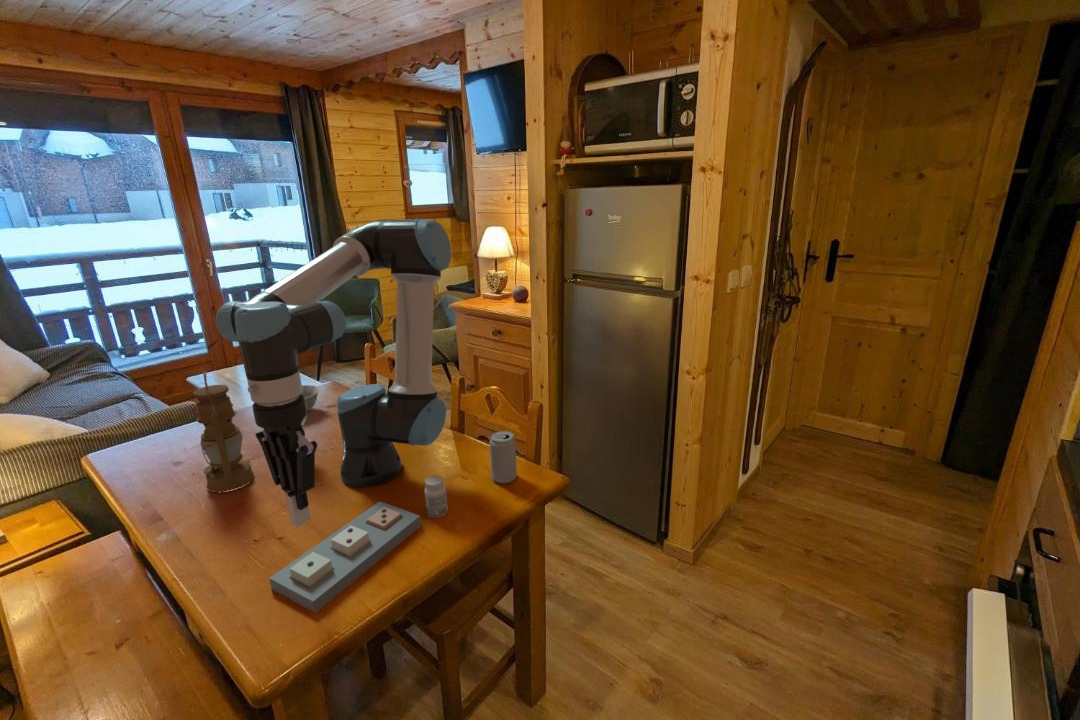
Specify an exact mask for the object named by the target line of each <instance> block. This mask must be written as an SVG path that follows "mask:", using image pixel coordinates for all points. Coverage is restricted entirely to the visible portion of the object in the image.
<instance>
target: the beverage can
mask: <svg viewBox="0 0 1080 720" xmlns="http://www.w3.org/2000/svg"><path fill="white" fill-rule="evenodd" d="M514 436H515V435H514V433H513V432H510V431H505V430H504V431H496V432H494V433H492V434H491V436H490V439H489V451H490V452H489V453H490V454H489V455H490V470H491V479H492V480H493V481H494V482H496V483H498V484H501V485H502V484H503V485H504V484H510V483H512V482H514V480H515V479H516V478H517V476H518V469H517V447H516V438H515V437H514Z"/></svg>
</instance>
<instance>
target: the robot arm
mask: <svg viewBox="0 0 1080 720" xmlns="http://www.w3.org/2000/svg"><path fill="white" fill-rule="evenodd" d="M451 260H452V248H451V241H450V238H449V235H448V234H447V231H446V230H445V228H444V226H443V225H442V224H441V223H440V222H439V221H437V220H434V219H426V218H406V219H402V218H401V219H378V220H372V221H370V222H367V223H364V224H362V225H360V226H358V227H356V228H354V229H352V230H350V231H348V232H346V233H345V234H343V235H342V236H340V237H338V238H337V239H335V240H334V242H333V244H332V247H331V248H329V249H328V250H326V251H324V252H323V253H322V254H320V255H318V256H317V257H315V258H313V259H312V260H311V261H309V262H306V264H304V265H302V266H301V267H300V268H297V269H296V270H295V271H293V272H291V273H290V274H288V275H286V276H285V277H283V278H282V279H280V280H279V281H277V282H275V283H274V284H273V285H270V286H269V287H267V288H266V289H264V290H263V291H261V292H259V293H257V294H256V295H254V296H253V297H251V298H249V299H248V300H245V301H244V300H235V301H228V302H226V303H224V304H223V305H221V306H220V307H219V309H218V310H217V312H216V315H215V326H216V329H217V331H218V333H219V334H220V336H222V337H223V338H224V339H225V340H228V341H231V342H237V343H238V346H239V352H240V355H241V360H242V364H243V368H244V372H245V376H246V380H247V385H248V386H247V392H248V393H249V396H250V401H252V402H253V404H252V405H251V406H252V411H253V412H252V413H253V417H254V422H255V424H256V426H257V427H259V428H260V429H261V428H262V430H260V431H258V432H256V433H255V438H256V439H257V441H258V443H259V444H260V446H261V450H262V452H263V455H264V458H265V460H266V463H267V466H268V469H269V471H270V475H271V477H272V480H273V483H274V484H275V486H279V485H280V487H281V488H280V489H281V490H282V491H283V492H285V493H284V494H285V499H286V503H287V508H288V513H289V518H290V521H291V522H290V523H291V526H293V527H295V528H299V527H300V526H302V525H304V524H305V523H307V522H308V521H310V520H311V513H310V507H309V499H308V493H307V492H308V491H310V490H312V489H313V488H315V478H316V477H315V476H316V475H315V471H316V470H315V465H316V464H315V463H316V462H315V459H316V458H315V456H316V454H315V453H316V451H317V448H318V443H317V441H315V440H312V441H309V440H308V439H307V438H306V431H305V429H304V428H303V426H302V425H301V423H302V421H303V419H304V418H305V416H306V408H305V402H304V397H303V396H302V395H301V393H302V392H303V389H302V385H303V383H302V379H301V375H300V368H299V363H298V355H301V354H304V353H306V352H308V351H311V350H314V349H318V348H319V347H322V346H326V345H329V344H331V343H332V342H334V341H336V340H338V339H340V338H341V337H342V336H343V335H344V333H345V331H346V329H347V321H346V316H345V313H344V311H343V310H342V309H341V308H340V306H338V304H336V303H334V302H333V301H330V300H323V299H325V298H326V297H327V296H328V295H330V294H331V293H333V292H334V291H335V290H337V289H338V288H339V287H341V286H342V285H344V284H345V283H346V282H348V281H349V280H350V279H352V278H353V277H354V276H355V277H356V276H357V277H358V276H363V275H365V274H367V272H369V271H373V270H381V269H383V270H384V269H387V270H390V276H391V278H393V279H394V281H395V282H396V285H397V286H396V287H397V288H396V320H395V322H396V329H395V331H396V332H395V367H394V368H395V371H394V374H395V376H394V383H393V384H392V385H391V386H390V387H389V388H388V391H387V389H386V388H385V386H384V385H382V384H378V383H372V384H364V385H360V386H357V387H354V388H351V389H348V390H346V391H344V392H343V393H341V394H340V395H339V396H338V397H337V402H336V404H337V415H338V421H339V427H340V433H341V439H342V443H343V456H342V462H341V465H340V470H339V471H340V477H341V482H343V483H344V484H346V485H348V486H350V487H354V488H369V487H373V486H374V487H376V486H378V485H379V486H380V485H381V484H384V483H387V482H389V481H390V480H392V479H395V477H397V476H398V475H399V474H400V472H401V470H402V460H401V457H400V454H399V453H398V451H397V449H396V447H395V445H394V443H397V444H405V445H410V446H430V445H432V444H433V443H434V442H435V441H436V440H437V439H438V438H439V437H440V434H441V433H442V431H443V428H444V426H445V422H446V417H447V407H446V404H445V401H444V400H443V399H441V398H438V389H437V387H435V386H434V385H433V383H432V375H433V374H432V370H433V369H432V367H433V339H434V338H433V337H434V335H433V334H434V330H433V329H434V301H435V297H434V296H435V285H436V284H437V283H438V282H439V281H440V280H441V278H442V276H441V275H442V272H443V271H445V270H447V269H448V268H449V266H450V263H451ZM386 392H387V393H386Z"/></svg>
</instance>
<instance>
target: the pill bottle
mask: <svg viewBox="0 0 1080 720" xmlns="http://www.w3.org/2000/svg"><path fill="white" fill-rule="evenodd" d="M424 483H425V484H424V485H425V487H424V499H425V501H424V502H425V509H426V514H427V516H428V517H430V518H435V519H437V518H441V517H444V516H445V515H446V514H448V511H449V507H448V498H447V487H446V485H445V483H444V478H443V477H442V476H441V475H438V474H437V475H436V474H435V475H431V476H428V477H427V478H426V479H425V480H424Z"/></svg>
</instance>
